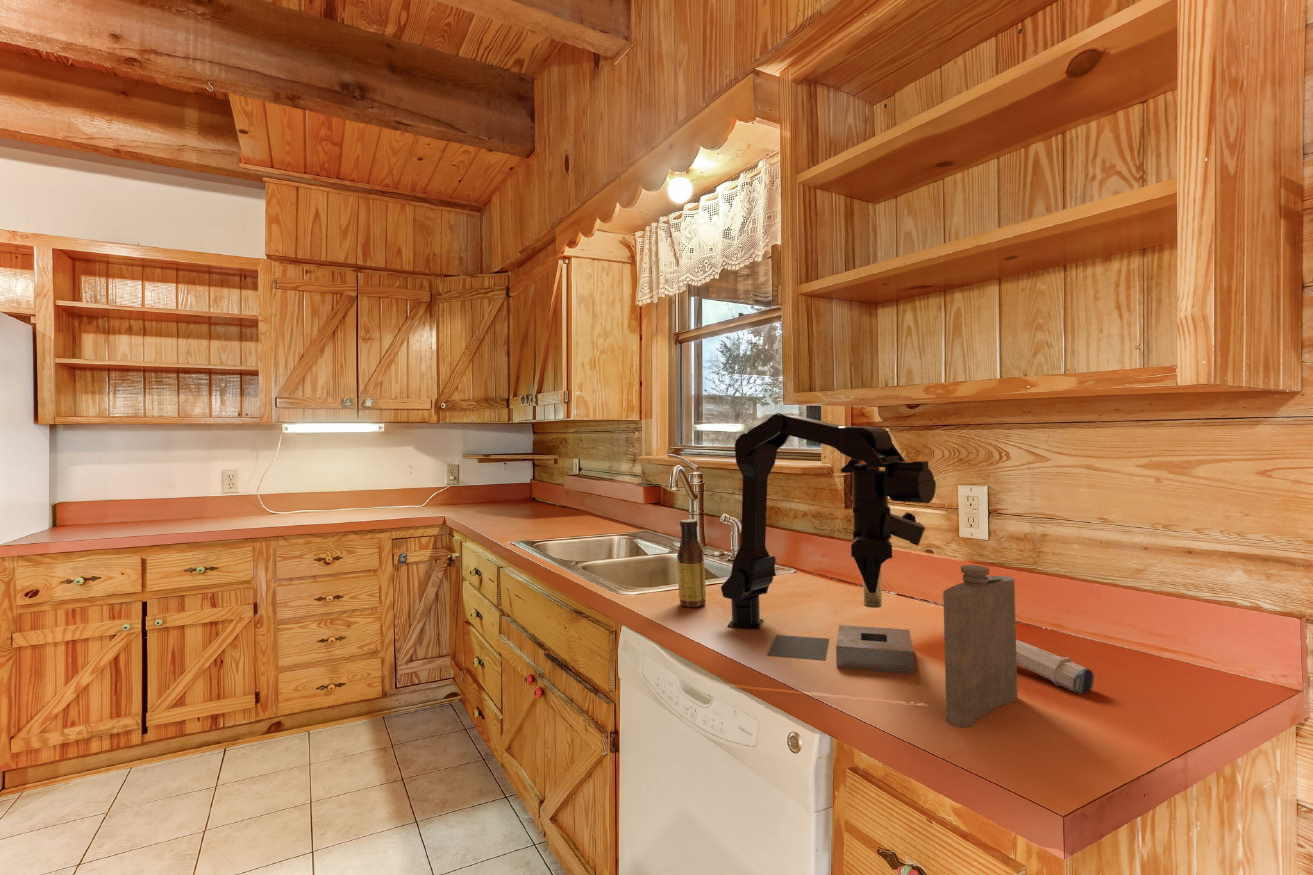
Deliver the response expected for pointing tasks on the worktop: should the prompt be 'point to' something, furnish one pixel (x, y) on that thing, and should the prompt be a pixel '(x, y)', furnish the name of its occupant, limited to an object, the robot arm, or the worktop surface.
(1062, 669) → the flashlight
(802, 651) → the mat
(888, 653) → the block
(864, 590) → the pin
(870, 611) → the worktop surface
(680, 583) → the sauce bottle
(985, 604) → the hip flask
